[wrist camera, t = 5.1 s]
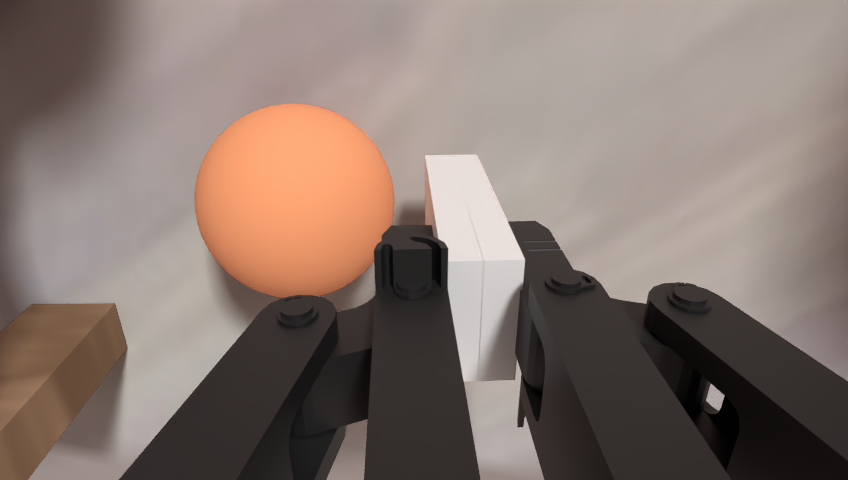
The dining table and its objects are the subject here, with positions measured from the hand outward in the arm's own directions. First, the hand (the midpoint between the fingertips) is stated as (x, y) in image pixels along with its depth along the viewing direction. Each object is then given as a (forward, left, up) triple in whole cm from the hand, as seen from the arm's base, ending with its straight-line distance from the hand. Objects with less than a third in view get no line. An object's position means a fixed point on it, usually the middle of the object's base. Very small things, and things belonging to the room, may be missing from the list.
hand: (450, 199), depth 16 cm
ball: (+4, 0, 0) cm, 4 cm away
